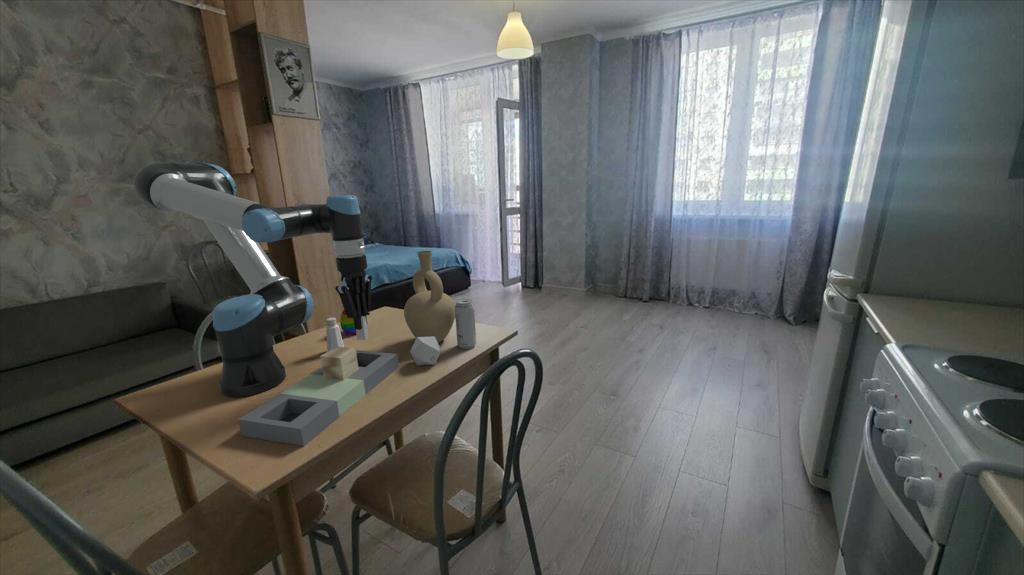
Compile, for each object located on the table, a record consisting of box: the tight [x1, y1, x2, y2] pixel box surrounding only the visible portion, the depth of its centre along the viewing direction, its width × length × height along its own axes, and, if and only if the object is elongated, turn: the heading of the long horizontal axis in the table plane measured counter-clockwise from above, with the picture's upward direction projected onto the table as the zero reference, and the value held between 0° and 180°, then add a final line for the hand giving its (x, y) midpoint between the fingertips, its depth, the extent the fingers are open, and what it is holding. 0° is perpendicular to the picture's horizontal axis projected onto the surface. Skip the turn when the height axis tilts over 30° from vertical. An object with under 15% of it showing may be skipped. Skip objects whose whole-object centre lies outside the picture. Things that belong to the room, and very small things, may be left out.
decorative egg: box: [339, 309, 357, 336], centre depth 145 cm, size 8×8×10 cm
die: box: [409, 336, 442, 366], centre depth 118 cm, size 8×9×10 cm
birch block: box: [319, 346, 359, 380], centre depth 105 cm, size 6×6×6 cm
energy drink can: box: [455, 298, 477, 350], centre depth 128 cm, size 6×6×15 cm
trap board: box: [238, 349, 400, 447], centre depth 102 cm, size 16×37×4 cm, turn 165°
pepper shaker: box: [325, 317, 345, 352], centre depth 128 cm, size 5×5×11 cm
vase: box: [403, 250, 456, 344], centre depth 132 cm, size 17×17×30 cm
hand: (363, 338), depth 113 cm, fingers closed
